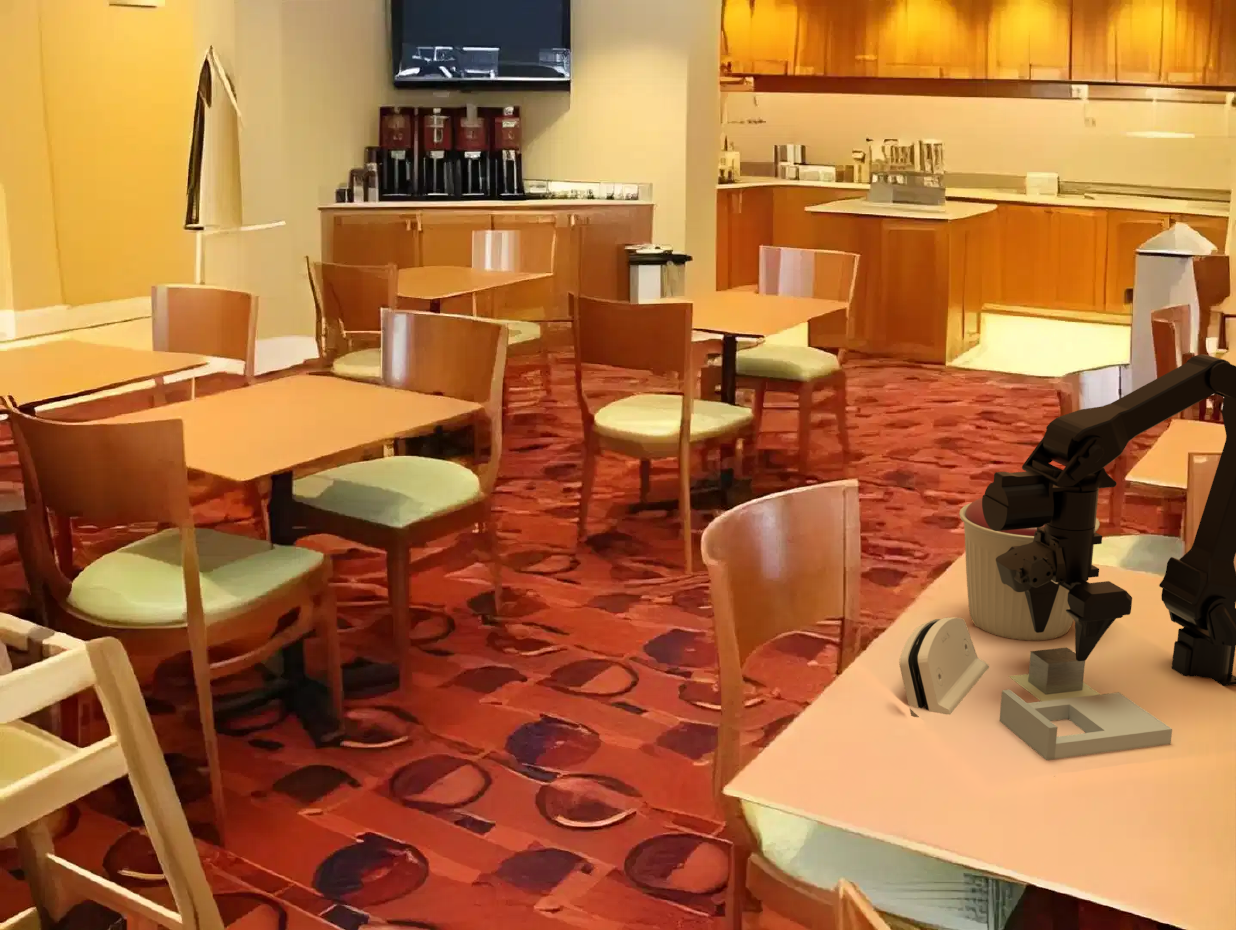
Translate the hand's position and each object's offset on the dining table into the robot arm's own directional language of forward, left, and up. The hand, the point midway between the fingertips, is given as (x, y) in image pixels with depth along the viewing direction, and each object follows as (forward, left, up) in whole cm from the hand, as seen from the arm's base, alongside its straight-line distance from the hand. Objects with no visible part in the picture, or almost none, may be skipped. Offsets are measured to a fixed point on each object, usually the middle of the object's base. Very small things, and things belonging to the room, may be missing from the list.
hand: (1059, 646), depth 165 cm
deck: (+4, +12, -6) cm, 14 cm away
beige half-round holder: (+13, -4, -7) cm, 15 cm away
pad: (0, 0, -6) cm, 6 cm away
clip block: (0, 0, -5) cm, 5 cm away
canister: (-7, -20, -7) cm, 22 cm away
